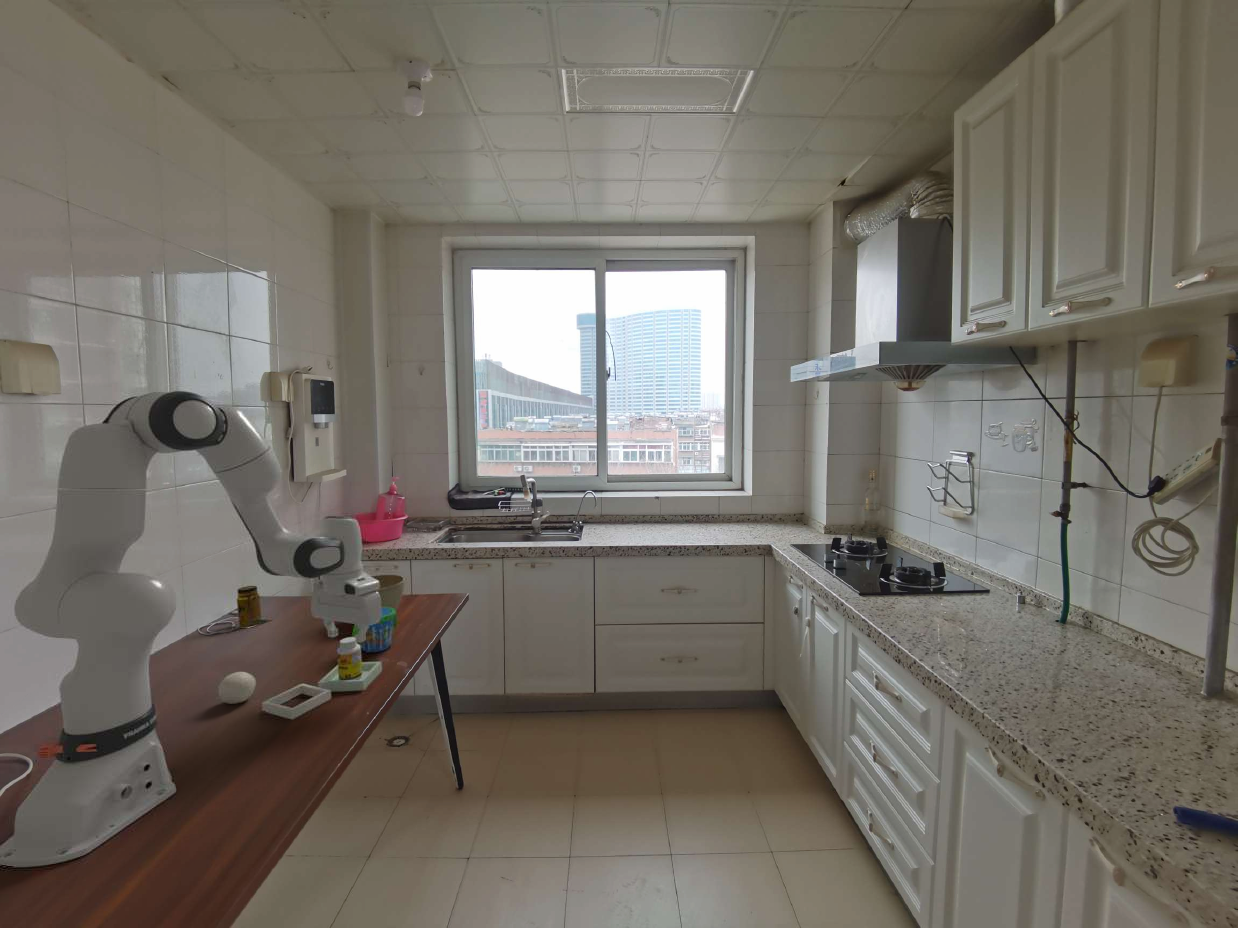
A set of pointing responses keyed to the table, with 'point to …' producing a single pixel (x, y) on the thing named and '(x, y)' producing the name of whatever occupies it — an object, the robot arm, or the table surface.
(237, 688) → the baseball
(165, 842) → the table surface
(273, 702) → the holder
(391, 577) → the flower pot
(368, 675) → the tray
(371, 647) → the snack cup
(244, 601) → the condiment
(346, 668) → the supplement bottle
